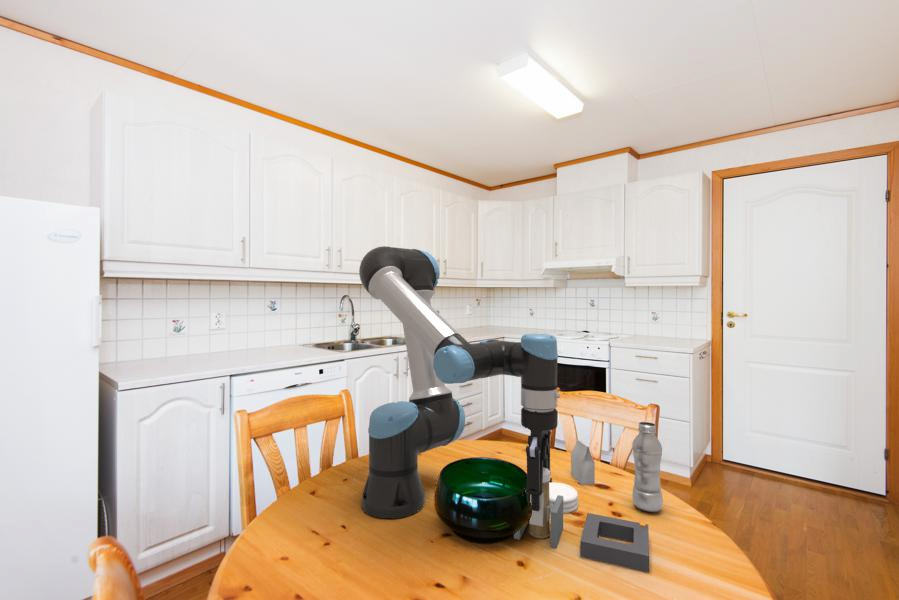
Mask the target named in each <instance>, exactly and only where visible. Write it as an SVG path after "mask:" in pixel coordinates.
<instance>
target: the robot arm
mask: <svg viewBox="0 0 899 600" xmlns="http://www.w3.org/2000/svg"><path fill="white" fill-rule="evenodd" d="M358 273H359V279H360V282H361V284H362V286H363V288H364V289H365V291H366V292H367V293H368V294H369V295H370V296H371V298H374V299H375V300H380V301H381V302H382V303H383V304H384V305H385V306H386V307H387V309H389V310H390V311H391V313H392V314H393V315H394V316H395V317H396V318H397V319H398V320H399V321H400V322H401V323H402V327H403V335H404V340H405V347H406V353H407V360H408V366H409V373H410V378H411V384H412V390H413V391H412V393H411V394H410V397H409V398H408V401H407V400H406V401H404V400H403V401H401V400H400V401H397V402H394V401H393V402H388V403H385V404H382V405H380V406H378V407H376V408H374V409H373V411H372V412H371V414H370V416H369V423H368V430H367V433H368V449H369V450H368V475H367V479H366V481H365V485H364V488H363V491H362V493H361V494H362V495H361V509H362V508H363V509H362V511H363V510H364V511H365V512H366V513H365V512H364V511H363V512H364V513H365V514H367V513H368V514H369V515H368V514H367V515H368V516H371V515H372V516H371V517H373V516H375V517H374V518H377V517H380V518H379V519H384V518H392V519H393V518H394V519H401V518H400V517H402V518H406V517H409V516H408V515H410V514H412V515H414V514H416V513H418V512H419V511H421V510H422V509H423V508H422V507H424V506H425V504H424V503H426V501H425V500H426V494H425V489H424V487H423V486H424V485H423V483H422V480H421V477H420V473H419V470H418V466H419V465H418V464H419V463H418V456H419V455H420V454H422V453H425V452H428V451H430V450H433V449H436V448H440V447H446V446H447V445H450V444H451V443H453V442H455V441H457V440H458V439H459V438H460V437H461V435H462V434H463V433H464V430H465V428H466V427H465V426H466V412H465V410H464V408H463V406H462V404H460V401H459V400H457V398H454V397H453V392H452V390H451V389H450V388H448V387H447V386H446V384H449V385H451V384H463V383H466V382H470V381H475V380H479V379H486V378H492V377H496V376H504V375H505V376H513V377H517V378H520V405H521V406H522V407H521V409H520V422H521V423H520V424H521V426H522V427H523V428H525V429H527V430H529V431H530V435H528V437H527V444H528V445H526V447H525V455H526V488H525V489H526V490H525V492H526V493H527V494H530V503H531V505H532V516H531V518H530V524H533V525H538V526H542V527H543V493H542V481H543V467H544V468H547V469H548V470H549V471H550V474H551V438H552V437H551V435H552V431H553V430H555V429H556V428H558V418H559V417H558V416H559V415H558V409H556V408H557V407H558V399H560V398H561V393H559V392H557V391H558V358H559V354H558V342H557V341H558V340H557V338H556V337H555V336H554V335H553V334H547V333H524V334H523V335H522V336H521V337H520V338H521V339H520V341H519V342H518V341H506V340H500V339H483V340H481V341H480V342H478V343H470V342H469V341H468V340H467V339H465V338H464V336H462V335H461V334H460V333H459V332H458V331H457V330H456V329H455V328H454V327H453V326H452V325H451V324H450V323H449V322H448V321H447V320H446V319H445V318H444V317H443V316H442V315H441V314H440V313H438V312H437V310H436V309H435V308H434V307H433V306H432V303H431V299H432V297H433V296H434V294H435V288H436V287H437V285H438V283H439V281H438V280H439V279H440V267H439V264H438V262H437V259H435V257H434V256H433V255H432V254H431V253H430V252H428V251H424V250H420V249H417V248H402V247H392V246H386V245H385V246H384V245H383V246H377V247H375V248H372V249H371V250H369V251H368V252H367V253H365V255H364V257H362V260H361V261H360V265H359V270H358ZM552 481H553V478H552V477H550V483H552ZM423 505H424V506H423ZM421 508H422V509H421ZM420 509H421V510H420ZM418 510H419V511H418ZM417 511H418V512H417ZM415 512H416V513H415ZM413 513H414V514H413ZM405 516H406V517H405ZM410 516H411V515H410ZM392 519H391V520H392Z"/></svg>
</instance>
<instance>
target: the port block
mask: <svg viewBox="0 0 899 600" xmlns="http://www.w3.org/2000/svg"><path fill="white" fill-rule="evenodd" d="M649 534H650V531H649V524H647V523H645V522H638V521H637V522H636V521H632V520H628V519H627V520H626V519H623V518H616V517H611V516H606V515H602V514H601V515H600V514H595V513H589V512H587V513H586V518H585V521H584V525H583V530H582V534H581V538H580V541H579V542H580V548H579V549H580V558H585V559H588V560H593V561H597V562H602V563H605V564H609V565H614V566H617V567H618V566H619V567H623V568H626V569H631V570H636V571H639V572H644V573H647V574H648V573H649V574H650V535H649ZM601 537H602V538H601ZM603 537H604V538H603ZM606 538H609V539H606ZM612 539H614V540H612ZM616 540H618V541H616ZM621 541H624V542H621ZM625 542H629V543H633V544H629V543H625Z"/></svg>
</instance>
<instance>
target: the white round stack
mask: <svg viewBox="0 0 899 600" xmlns="http://www.w3.org/2000/svg"><path fill="white" fill-rule="evenodd" d="M558 495H560V496H563V515H564V513H565V514H569V513H573V512H575V511H576V510H577V509H578V507H579V493H578V491H577V489H576V488H574V487H572V486H571V485H569V484H566V483H563V482H555V481H554V482H552V483H550V482H549V498H550V513H551V510H552V507H553V505H554V503H555V500H556V498H557V496H558Z"/></svg>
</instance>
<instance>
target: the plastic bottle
mask: <svg viewBox="0 0 899 600" xmlns="http://www.w3.org/2000/svg"><path fill="white" fill-rule="evenodd" d="M637 428H638V429H637V431H638V434H637V435H636V436H635V437H634V439H633V440H632V443H631V445H632V446H631V447H632V454H633V460H634V461H633V462H634V480H633V483H634V484H633V487H632V493H631V497H632V502H633V504H634V505H635V507H636V508H638V509H639V510H642V511H644V512H648V513H658V512H660V510H661V509H662V507H663V504H664V498H663V492H662V488H661V463H662V462H661V461H662V454H663V447H662V443H661V441H660V440H659V439H658V437H657V436H656V434H657V426H656V424H655V423H653V422H649V421H640V422H638V427H637Z"/></svg>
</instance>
